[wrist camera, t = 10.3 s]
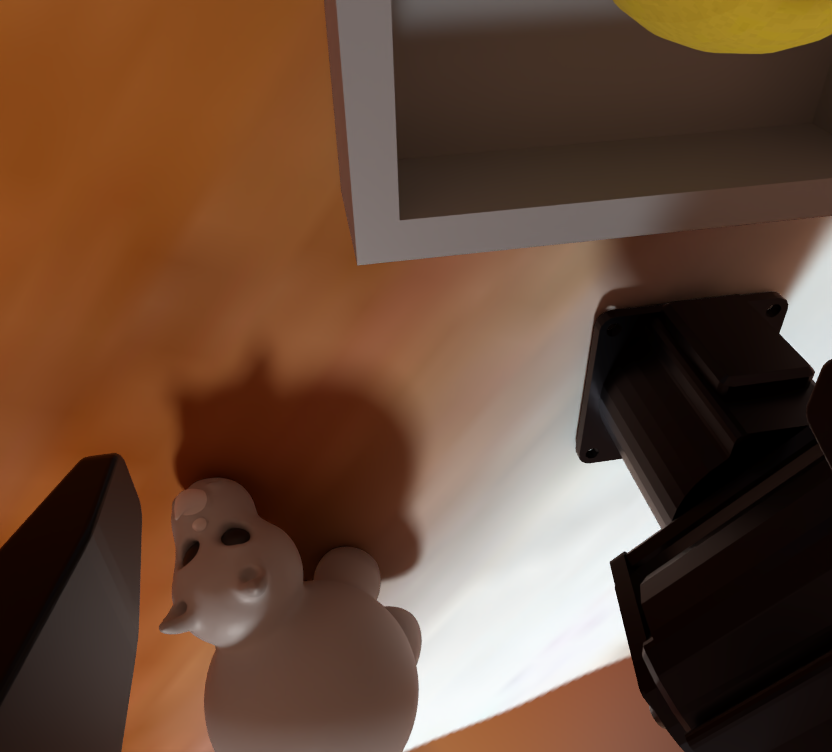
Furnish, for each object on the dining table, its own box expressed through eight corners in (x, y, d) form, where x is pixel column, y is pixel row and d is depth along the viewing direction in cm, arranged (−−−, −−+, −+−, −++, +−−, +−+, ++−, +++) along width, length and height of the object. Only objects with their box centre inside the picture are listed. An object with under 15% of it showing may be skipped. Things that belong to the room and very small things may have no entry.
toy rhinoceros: (306, 392, 27) (266, 498, 19) (445, 637, 30) (462, 817, 22) (139, 472, 28) (33, 606, 20) (293, 702, 31) (255, 898, 23)
